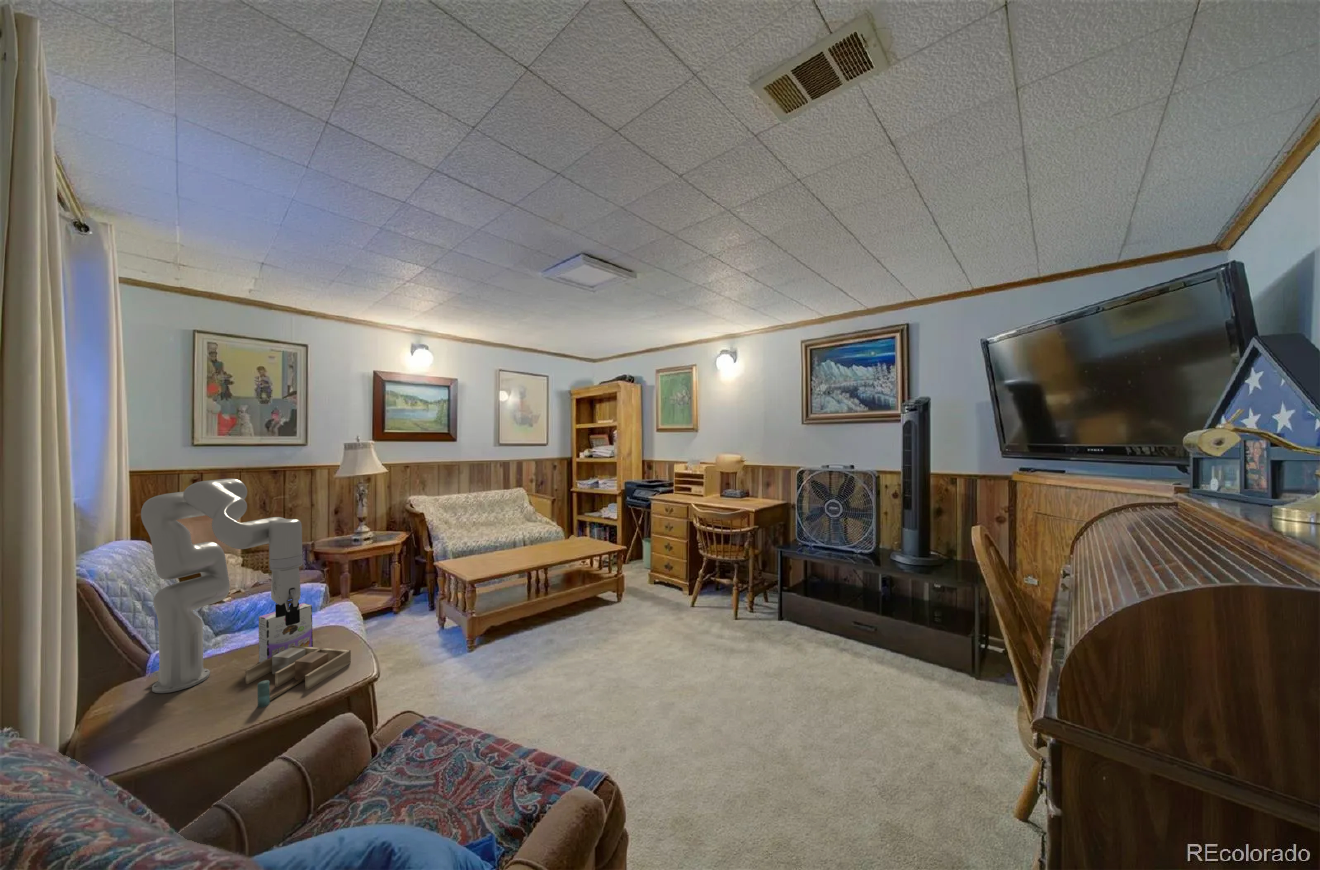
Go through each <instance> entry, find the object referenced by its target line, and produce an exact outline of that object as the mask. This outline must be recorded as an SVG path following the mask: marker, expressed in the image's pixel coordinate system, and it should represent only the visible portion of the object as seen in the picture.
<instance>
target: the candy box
mask: <svg viewBox="0 0 1320 870" xmlns="http://www.w3.org/2000/svg"><path fill="white" fill-rule="evenodd" d="M299 607H300V622H299V623H296V624H293V625H289V626H286V624H285V616H282V617H278V618H277V617H276V610H275V611H273V612H270V613H266V614H263V615H262V614H261V615H259V616H258V663H261V662H263V661H264V660H266V659H268V658H270V657H272V656H274V655H276V654H278V653H280V652H282V651H284V650H286V649H288V648H290V647H292V646H304V647H314V642H313V604H309V603H306V602H301V603H299Z"/></svg>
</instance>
